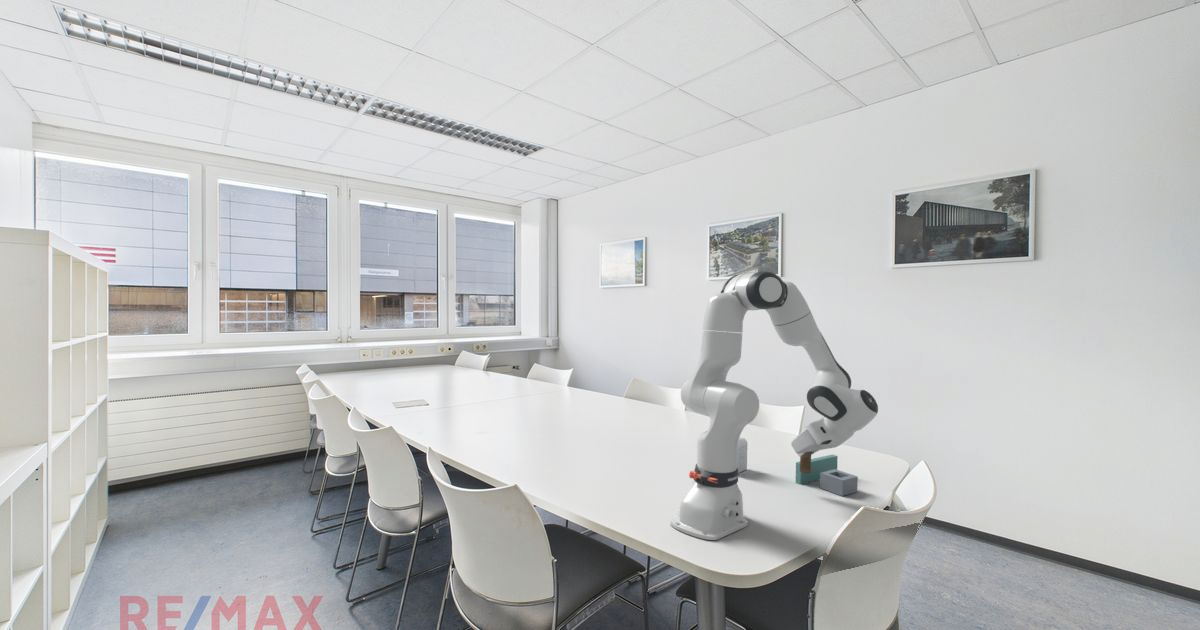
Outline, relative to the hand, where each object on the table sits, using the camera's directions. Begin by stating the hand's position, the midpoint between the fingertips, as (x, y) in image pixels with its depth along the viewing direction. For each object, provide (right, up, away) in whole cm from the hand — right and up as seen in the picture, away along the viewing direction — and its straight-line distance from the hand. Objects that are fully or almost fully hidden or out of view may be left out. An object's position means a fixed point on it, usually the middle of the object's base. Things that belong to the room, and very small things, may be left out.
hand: (804, 453), depth 152 cm
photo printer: (-16, -13, +21) cm, 29 cm away
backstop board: (+11, -13, +14) cm, 22 cm away
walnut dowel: (0, -6, -1) cm, 6 cm away
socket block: (+13, -13, +4) cm, 19 cm away
